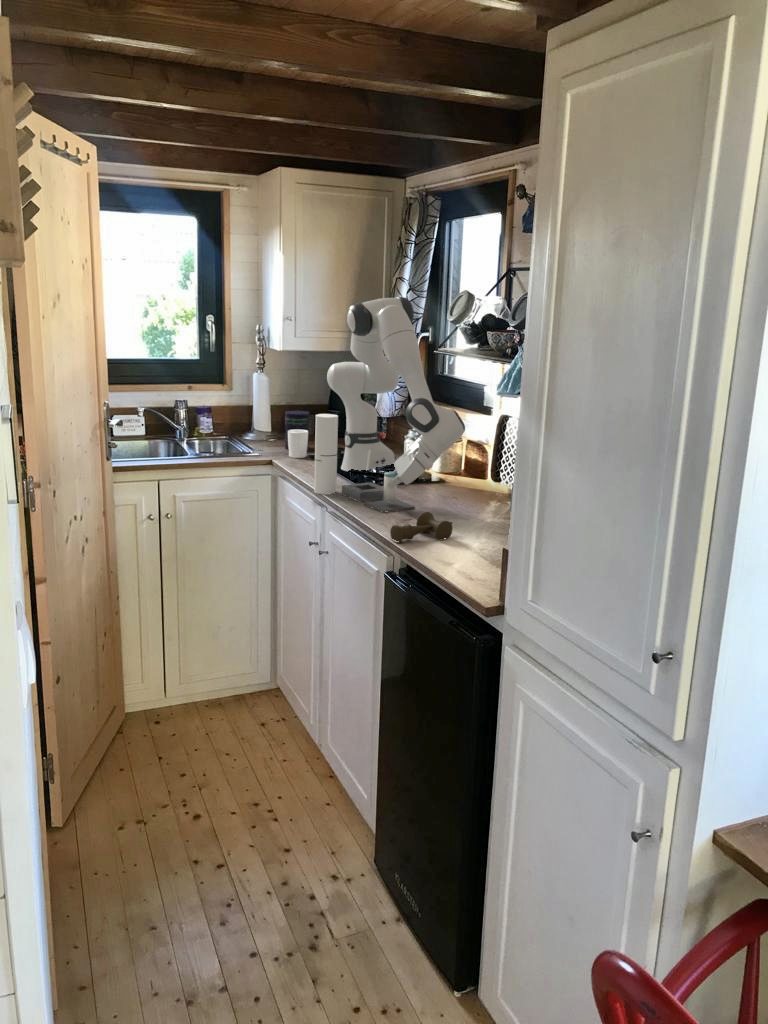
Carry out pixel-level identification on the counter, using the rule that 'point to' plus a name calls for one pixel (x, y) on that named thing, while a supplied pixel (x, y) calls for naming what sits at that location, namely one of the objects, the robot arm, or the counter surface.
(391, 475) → the white bottle teal cap
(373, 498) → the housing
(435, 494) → the counter surface
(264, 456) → the counter surface
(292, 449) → the white cup
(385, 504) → the mat
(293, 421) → the storage jar
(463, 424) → the robot arm
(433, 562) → the counter surface
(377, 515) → the counter surface
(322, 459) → the cylindrical container
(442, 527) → the kendama
